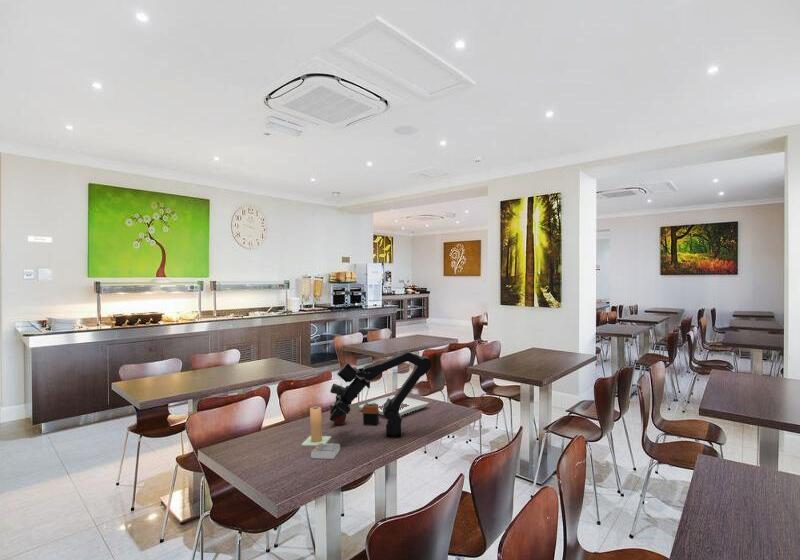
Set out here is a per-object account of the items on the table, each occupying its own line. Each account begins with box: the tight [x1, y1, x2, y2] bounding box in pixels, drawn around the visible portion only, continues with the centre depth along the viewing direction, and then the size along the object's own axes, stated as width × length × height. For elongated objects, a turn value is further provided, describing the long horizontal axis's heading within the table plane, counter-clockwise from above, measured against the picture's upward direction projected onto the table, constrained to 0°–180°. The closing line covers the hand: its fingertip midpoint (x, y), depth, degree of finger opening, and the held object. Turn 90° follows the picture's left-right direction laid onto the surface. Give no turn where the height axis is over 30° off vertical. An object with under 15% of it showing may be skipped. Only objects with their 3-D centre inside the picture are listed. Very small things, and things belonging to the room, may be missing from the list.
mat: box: [301, 435, 332, 447], centre depth 187 cm, size 10×10×1 cm
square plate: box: [358, 394, 429, 417], centre depth 229 cm, size 27×27×4 cm
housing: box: [310, 442, 341, 460], centre depth 173 cm, size 9×9×2 cm
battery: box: [362, 402, 380, 426], centre depth 208 cm, size 4×7×10 cm, turn 77°
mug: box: [329, 401, 347, 426], centre depth 208 cm, size 10×8×10 cm
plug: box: [309, 405, 323, 442], centre depth 187 cm, size 5×5×15 cm
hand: (330, 416), depth 188 cm, fingers open, 9 cm apart
